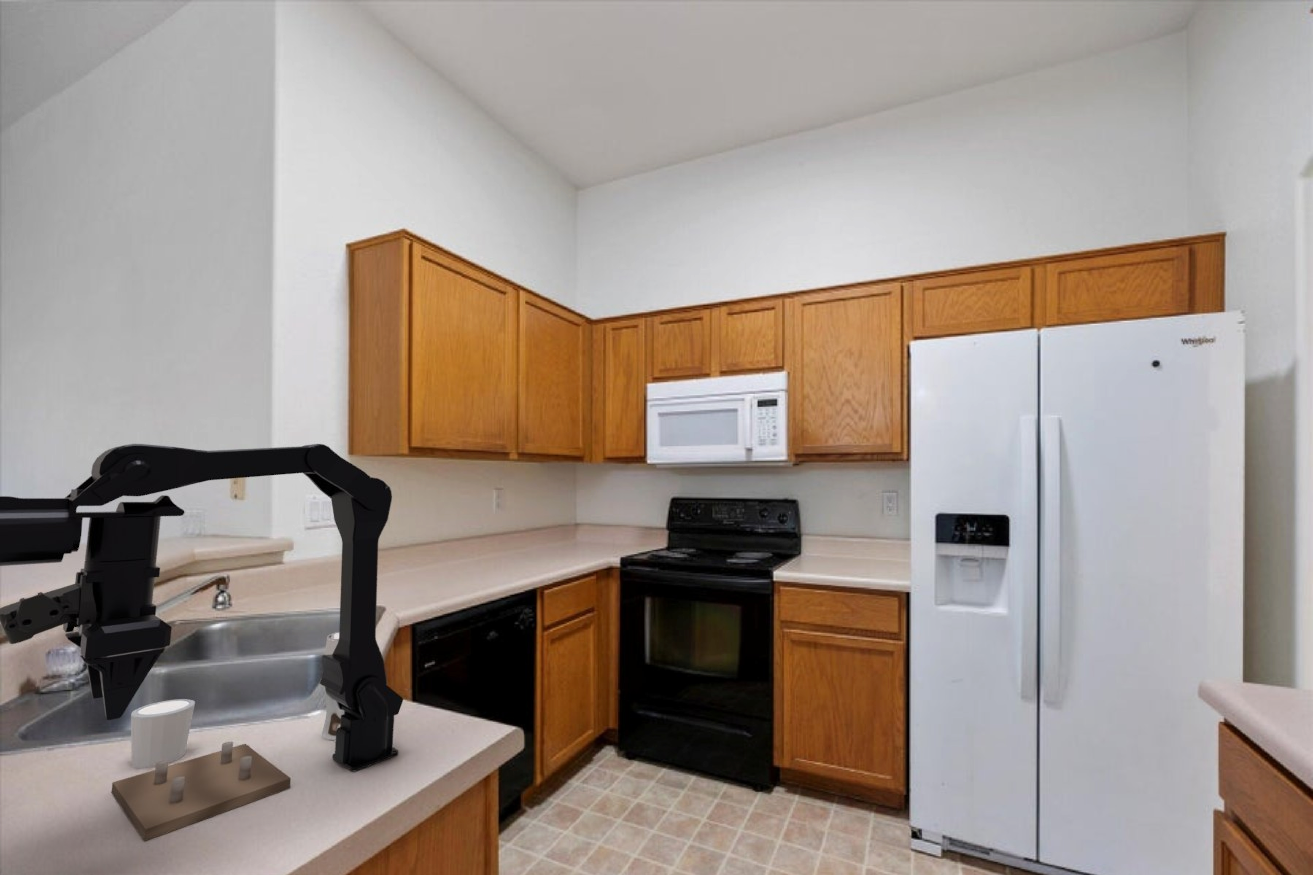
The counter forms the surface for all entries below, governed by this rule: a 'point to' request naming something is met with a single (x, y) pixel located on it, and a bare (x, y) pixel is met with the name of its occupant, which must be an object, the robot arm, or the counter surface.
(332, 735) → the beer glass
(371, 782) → the counter surface
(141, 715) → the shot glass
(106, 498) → the robot arm
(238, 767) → the pin board
